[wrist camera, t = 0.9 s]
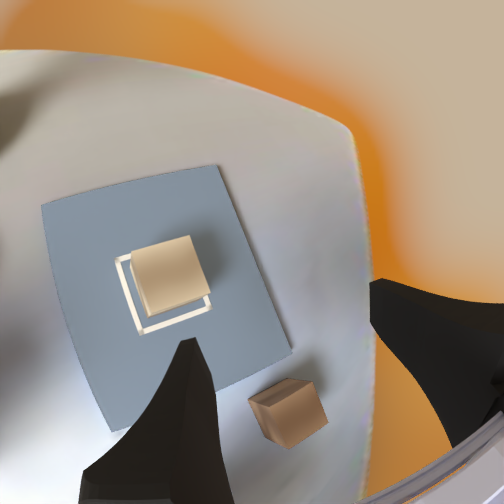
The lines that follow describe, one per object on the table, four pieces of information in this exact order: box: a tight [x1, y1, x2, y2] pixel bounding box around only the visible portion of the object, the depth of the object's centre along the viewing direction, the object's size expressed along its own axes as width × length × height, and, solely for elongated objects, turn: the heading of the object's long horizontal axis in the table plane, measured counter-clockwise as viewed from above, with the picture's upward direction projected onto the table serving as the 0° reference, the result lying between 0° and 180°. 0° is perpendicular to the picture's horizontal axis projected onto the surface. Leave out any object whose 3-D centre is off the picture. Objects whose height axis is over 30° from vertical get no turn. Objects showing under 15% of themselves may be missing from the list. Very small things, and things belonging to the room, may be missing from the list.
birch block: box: [130, 235, 211, 318], centre depth 20 cm, size 4×4×4 cm
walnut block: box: [248, 378, 329, 449], centre depth 21 cm, size 4×4×4 cm
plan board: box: [41, 165, 292, 432], centre depth 22 cm, size 18×16×1 cm
